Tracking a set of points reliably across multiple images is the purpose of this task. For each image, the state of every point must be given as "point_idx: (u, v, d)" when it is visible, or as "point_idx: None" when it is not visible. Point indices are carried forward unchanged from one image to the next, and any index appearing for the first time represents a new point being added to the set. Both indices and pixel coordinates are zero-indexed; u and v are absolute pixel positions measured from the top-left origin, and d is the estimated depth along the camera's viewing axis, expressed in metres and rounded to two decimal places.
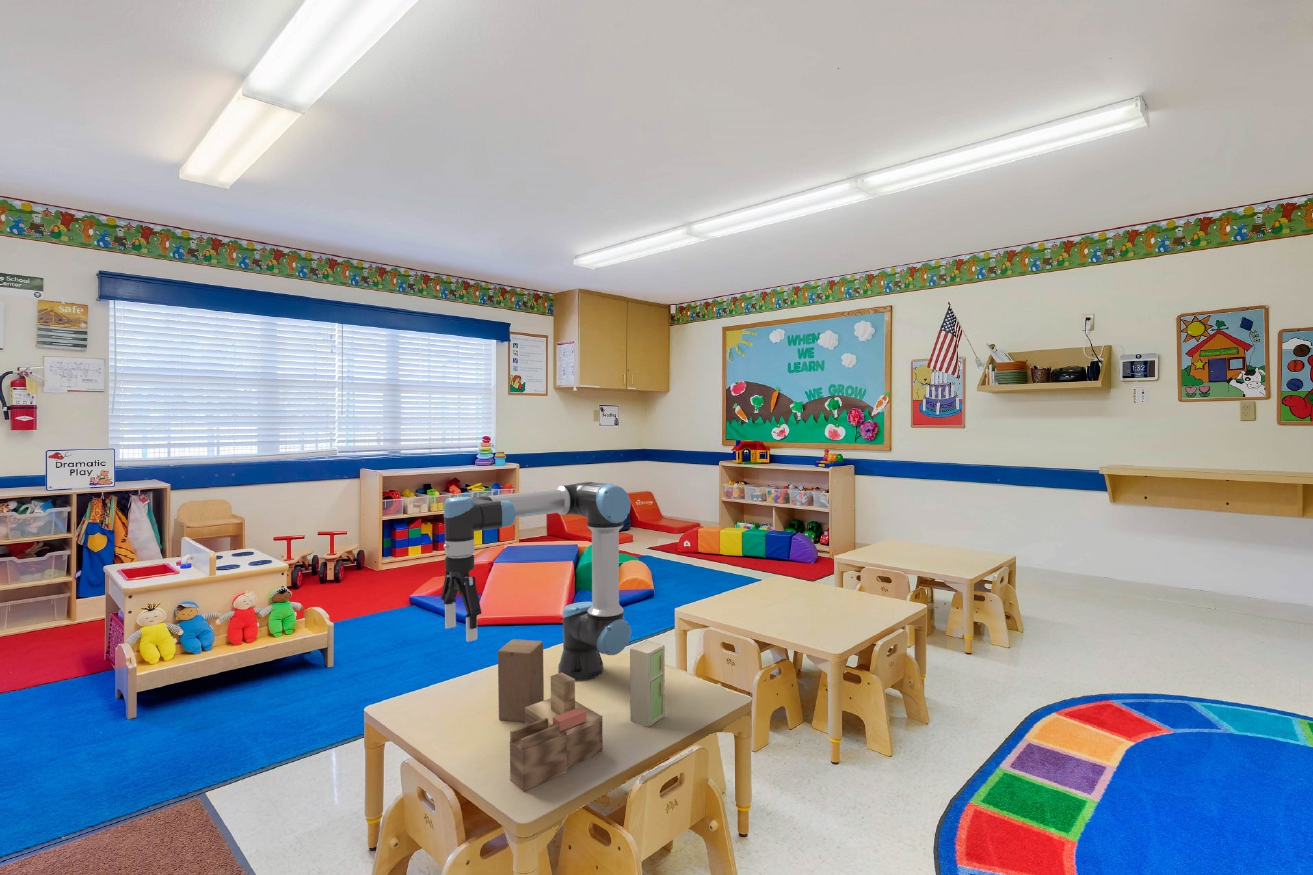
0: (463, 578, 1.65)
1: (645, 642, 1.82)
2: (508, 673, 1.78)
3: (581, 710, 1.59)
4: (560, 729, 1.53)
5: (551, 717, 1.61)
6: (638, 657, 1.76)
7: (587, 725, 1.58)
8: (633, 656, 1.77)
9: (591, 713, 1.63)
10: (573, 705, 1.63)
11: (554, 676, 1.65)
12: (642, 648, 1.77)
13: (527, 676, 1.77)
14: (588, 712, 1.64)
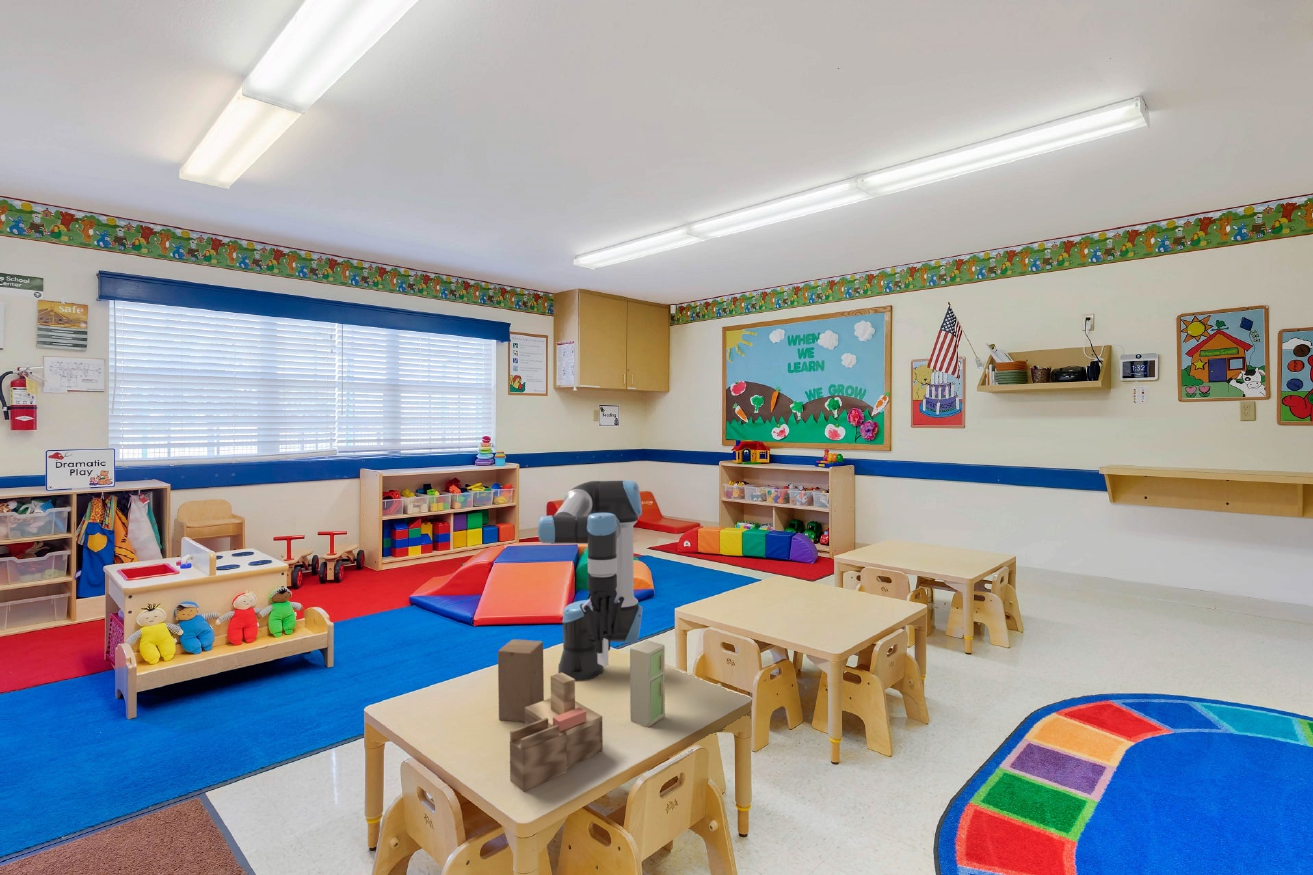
0: (588, 599, 1.61)
1: (645, 642, 1.82)
2: (508, 673, 1.78)
3: (581, 710, 1.59)
4: (560, 729, 1.53)
5: (551, 717, 1.61)
6: (638, 657, 1.76)
7: (587, 725, 1.58)
8: (633, 656, 1.77)
9: (591, 713, 1.63)
10: (573, 705, 1.63)
11: (554, 676, 1.65)
12: (642, 648, 1.77)
13: (527, 676, 1.77)
14: (588, 712, 1.64)
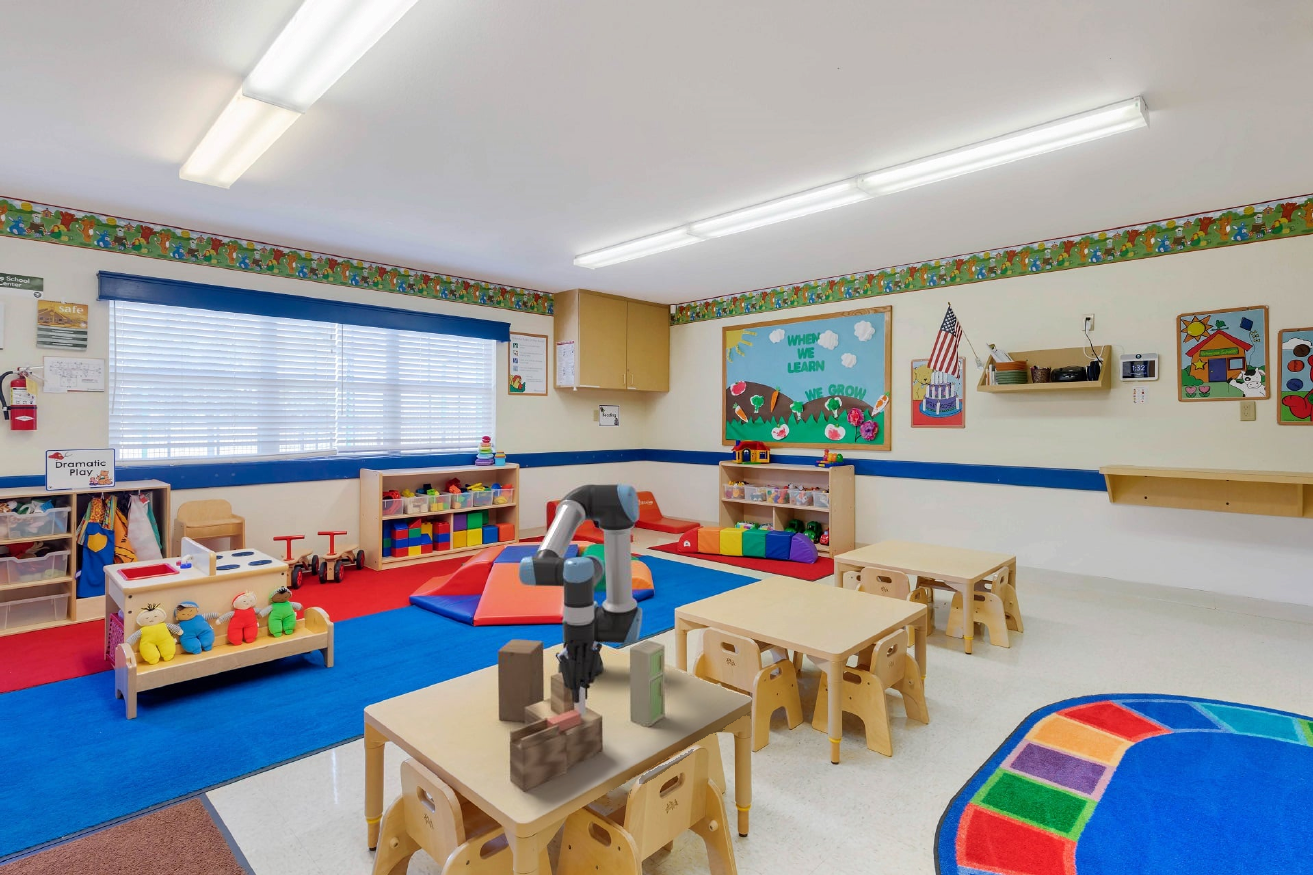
0: (564, 647, 1.56)
1: (645, 642, 1.82)
2: (508, 673, 1.78)
3: (575, 712, 1.57)
4: None
5: (551, 717, 1.61)
6: (638, 657, 1.76)
7: (587, 725, 1.58)
8: (633, 656, 1.77)
9: (591, 713, 1.63)
10: (573, 705, 1.63)
11: (554, 676, 1.65)
12: (642, 648, 1.77)
13: (527, 676, 1.77)
14: (588, 712, 1.64)
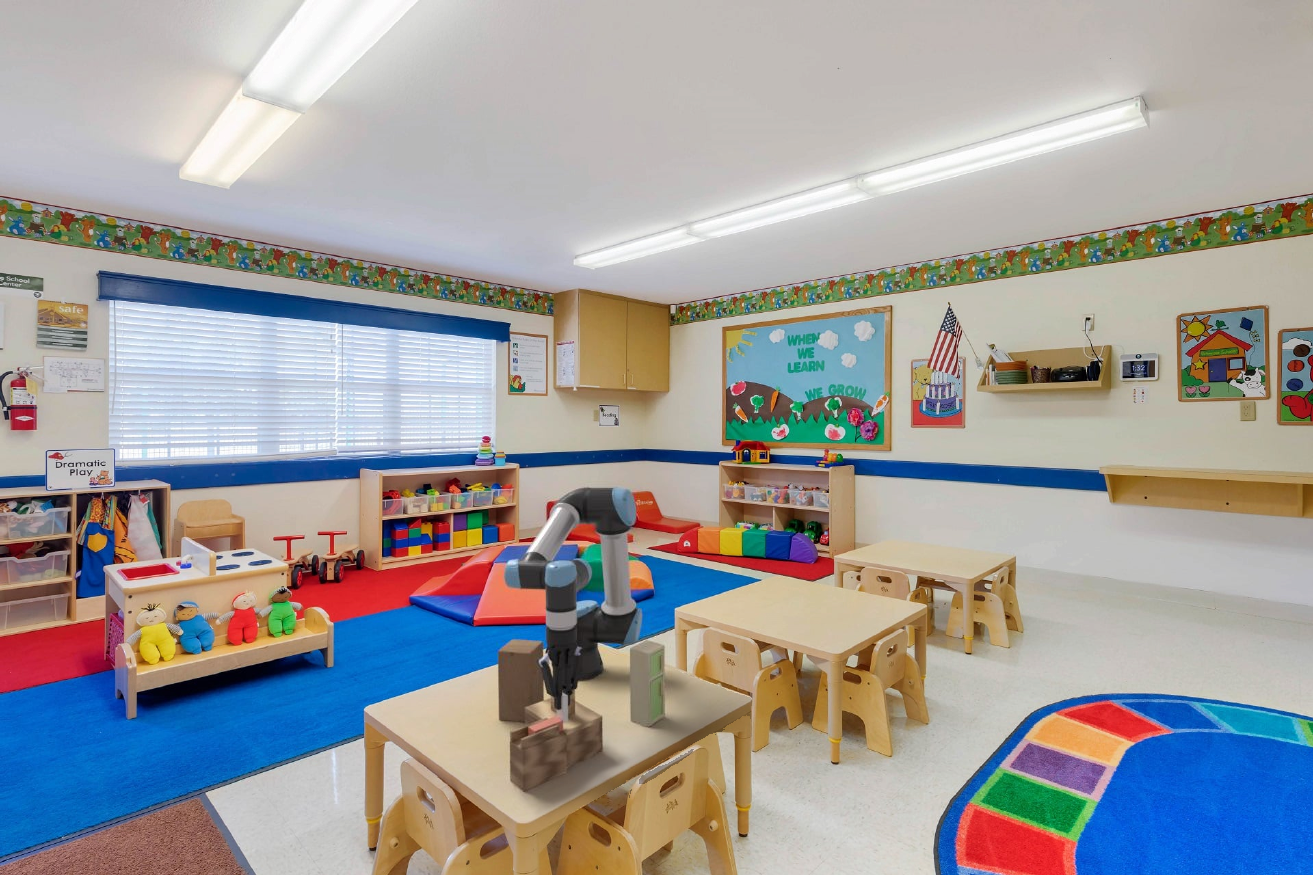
0: None
1: (645, 642, 1.82)
2: (508, 673, 1.78)
3: (558, 719, 1.54)
4: None
5: (551, 717, 1.61)
6: (638, 657, 1.76)
7: (587, 725, 1.58)
8: (633, 656, 1.77)
9: (591, 713, 1.63)
10: (573, 705, 1.63)
11: None
12: (642, 648, 1.77)
13: (527, 676, 1.77)
14: (588, 712, 1.64)
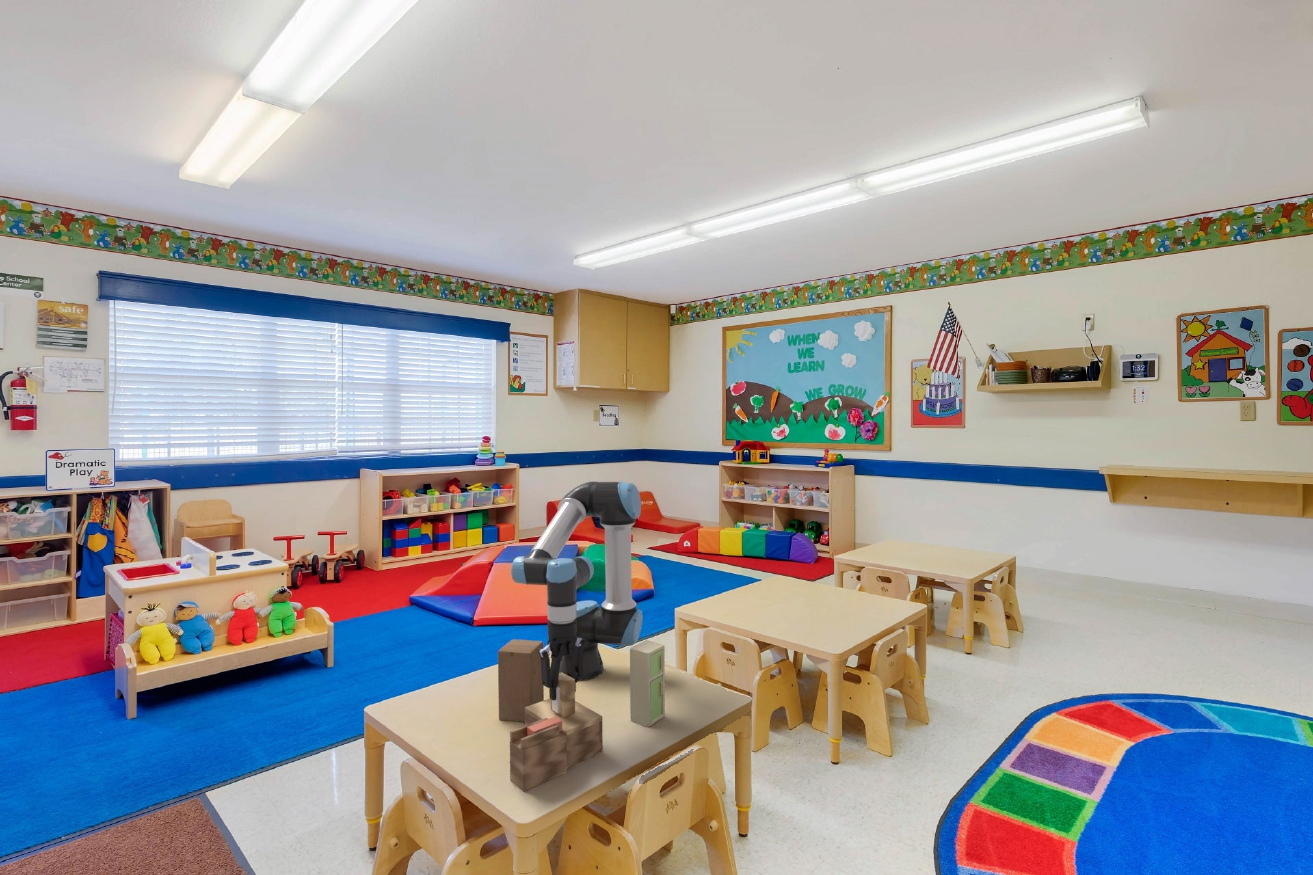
0: (547, 645, 1.62)
1: (645, 642, 1.82)
2: (508, 673, 1.78)
3: (557, 719, 1.54)
4: None
5: (551, 716, 1.61)
6: (638, 657, 1.76)
7: (587, 725, 1.58)
8: (633, 656, 1.77)
9: (591, 713, 1.63)
10: (573, 705, 1.63)
11: None
12: (642, 648, 1.77)
13: (527, 676, 1.77)
14: (588, 712, 1.64)
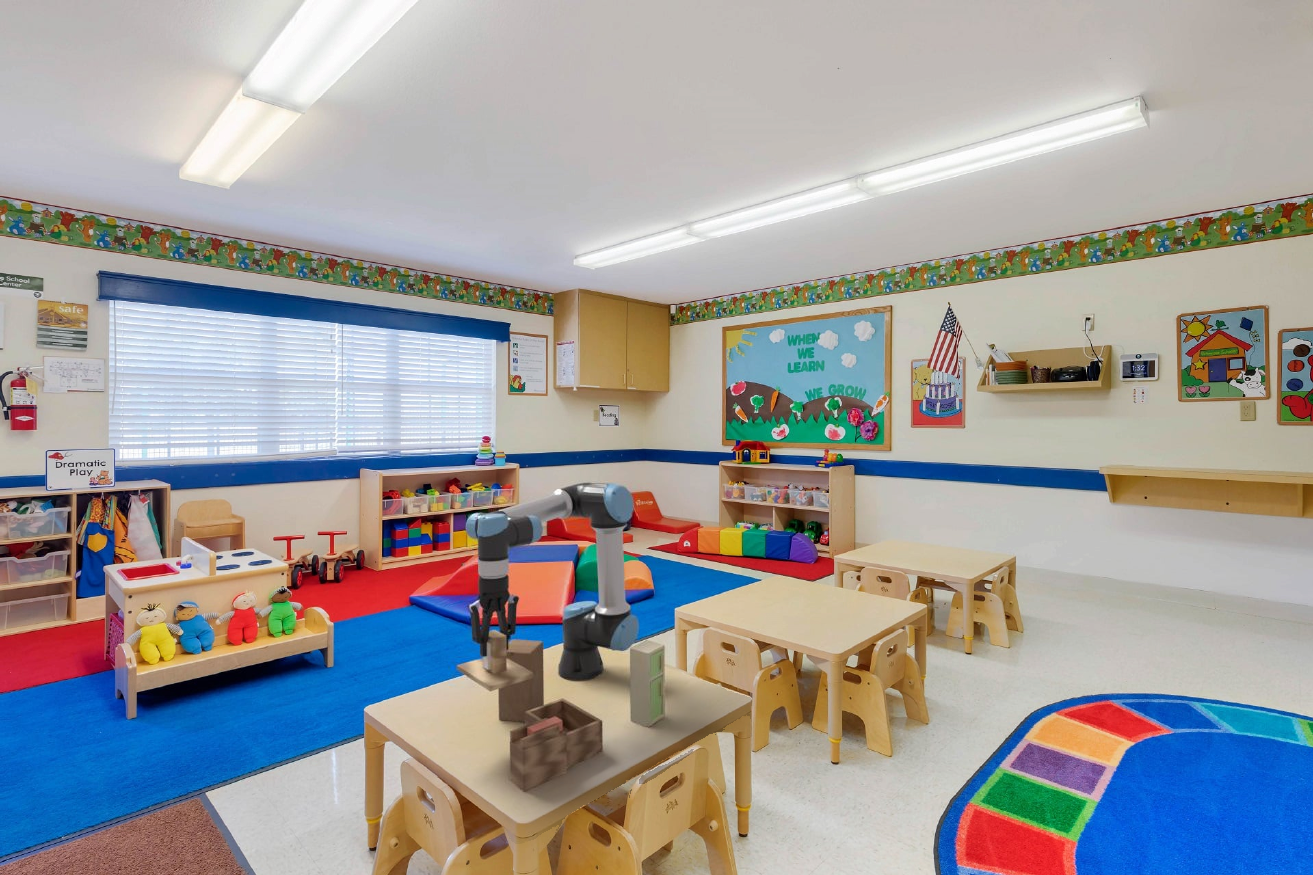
0: None
1: (645, 642, 1.82)
2: None
3: (557, 719, 1.54)
4: None
5: (481, 673, 1.59)
6: (638, 657, 1.76)
7: (517, 681, 1.56)
8: (633, 656, 1.77)
9: (523, 670, 1.61)
10: (504, 662, 1.60)
11: None
12: (642, 648, 1.77)
13: None
14: (520, 669, 1.61)
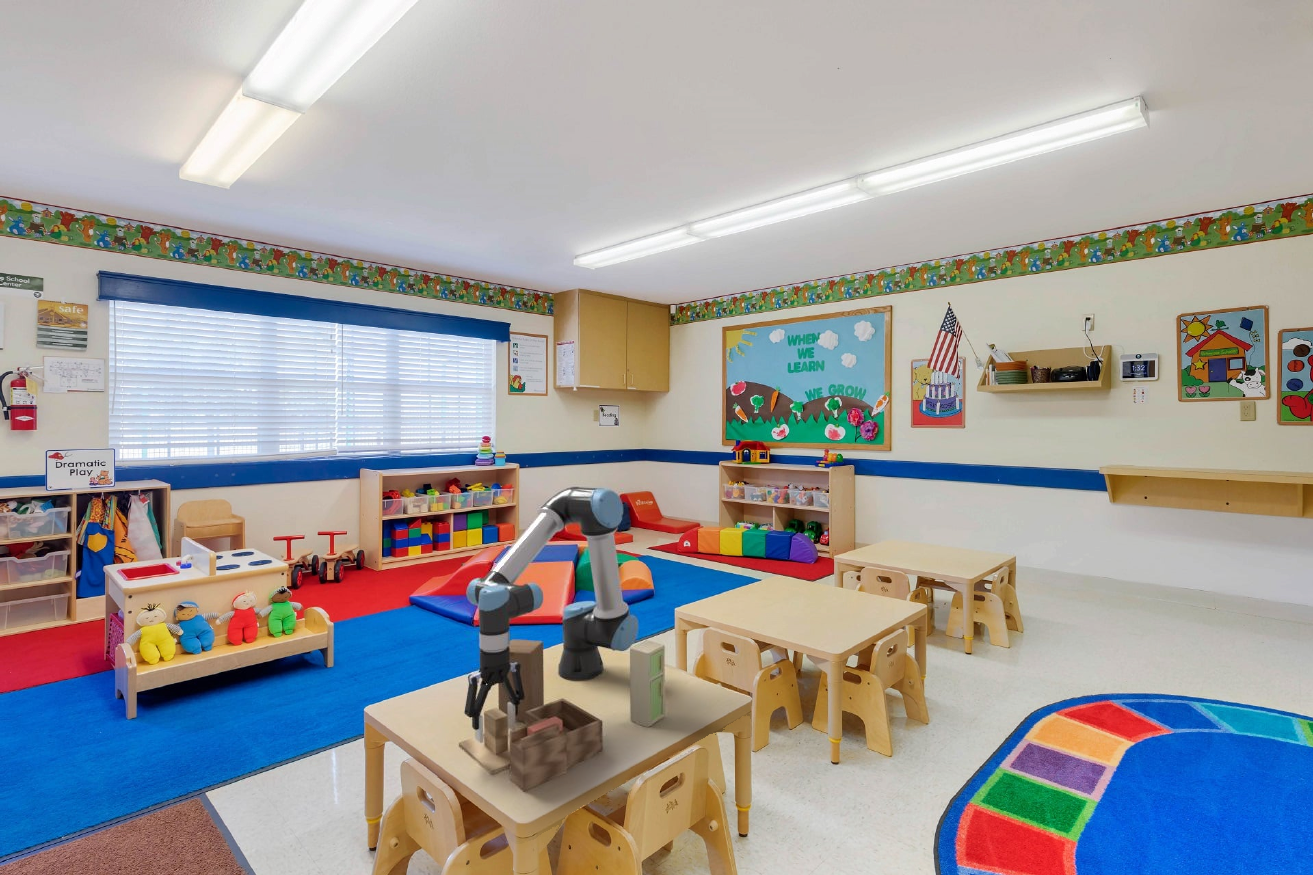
0: (478, 672, 1.60)
1: (645, 642, 1.82)
2: (508, 673, 1.78)
3: (557, 719, 1.54)
4: None
5: (482, 753, 1.59)
6: (638, 657, 1.76)
7: None
8: (633, 656, 1.77)
9: None
10: (506, 742, 1.61)
11: (487, 712, 1.63)
12: (642, 648, 1.77)
13: (527, 676, 1.77)
14: None
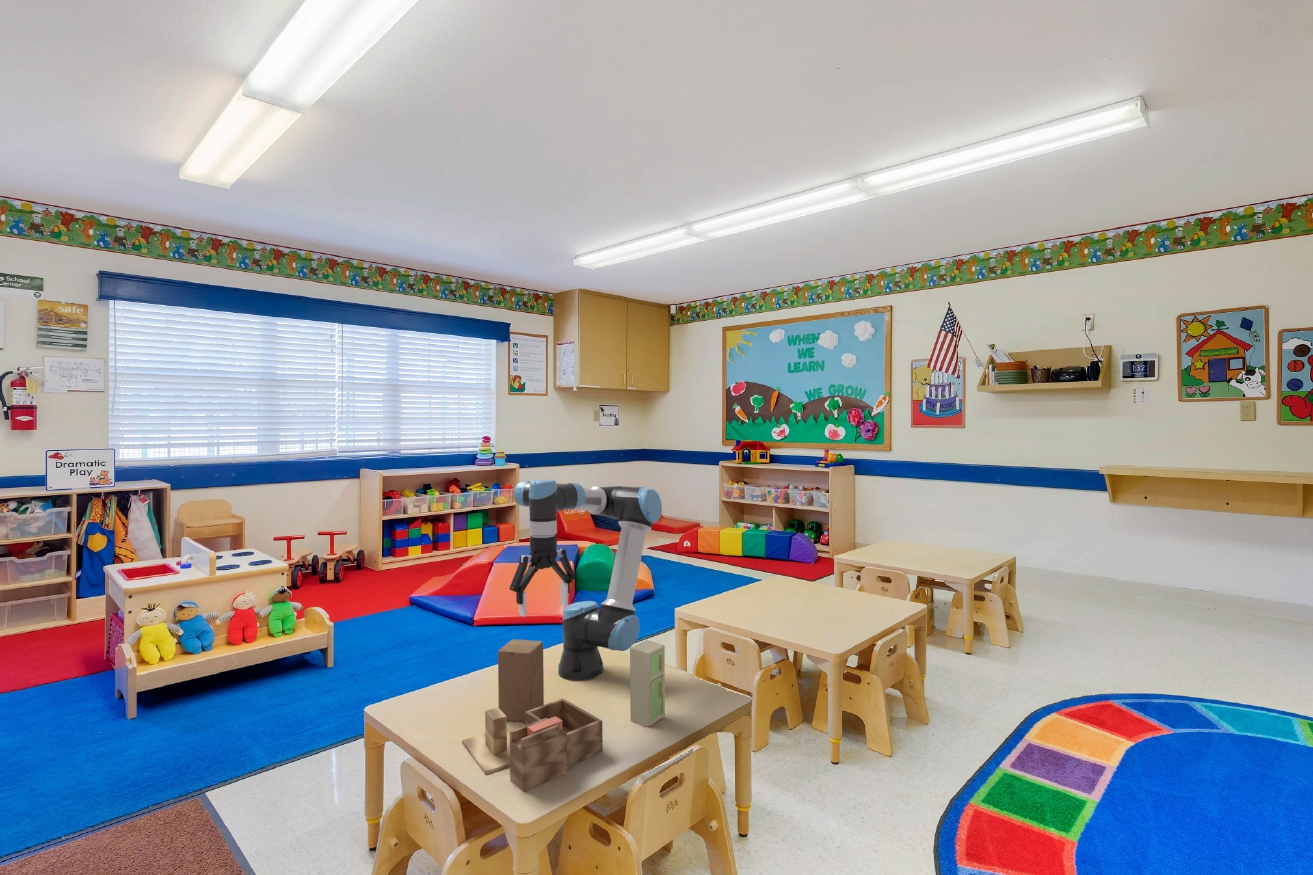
0: None
1: (645, 642, 1.82)
2: (508, 673, 1.78)
3: (557, 719, 1.54)
4: None
5: (481, 753, 1.60)
6: (638, 657, 1.76)
7: None
8: (633, 656, 1.77)
9: None
10: (504, 742, 1.61)
11: (488, 711, 1.63)
12: (642, 648, 1.77)
13: (527, 676, 1.77)
14: None
